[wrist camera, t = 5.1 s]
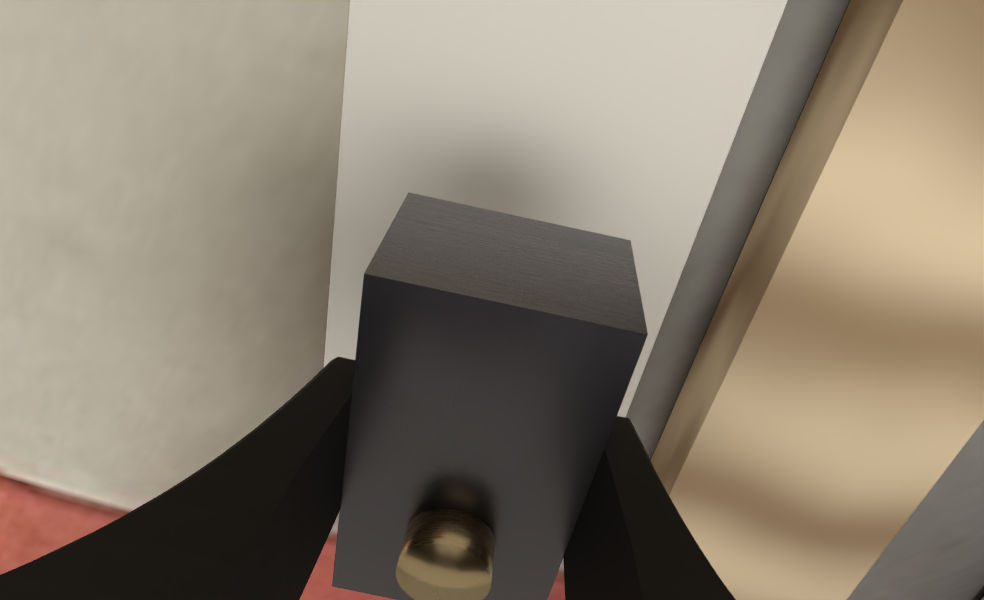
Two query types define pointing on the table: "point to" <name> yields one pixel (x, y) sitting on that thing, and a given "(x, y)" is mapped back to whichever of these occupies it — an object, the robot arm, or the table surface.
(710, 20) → the mat
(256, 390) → the table surface
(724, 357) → the body
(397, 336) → the lever cap
